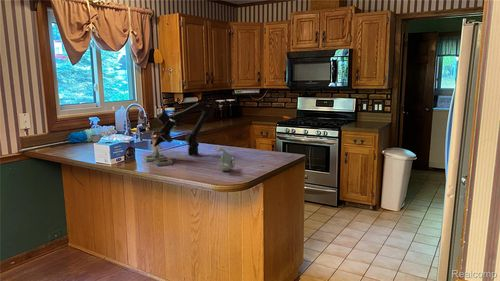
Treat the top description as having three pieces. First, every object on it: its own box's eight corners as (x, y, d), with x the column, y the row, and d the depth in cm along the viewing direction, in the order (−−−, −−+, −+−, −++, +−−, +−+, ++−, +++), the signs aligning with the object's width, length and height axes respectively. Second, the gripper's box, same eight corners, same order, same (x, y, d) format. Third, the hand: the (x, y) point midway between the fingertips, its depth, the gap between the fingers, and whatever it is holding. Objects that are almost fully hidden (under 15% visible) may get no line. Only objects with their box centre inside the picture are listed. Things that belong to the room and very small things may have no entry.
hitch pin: (161, 157, 256) (161, 134, 253) (159, 159, 251) (158, 136, 248) (153, 157, 257) (152, 134, 254) (150, 159, 251) (149, 136, 248)
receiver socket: (169, 161, 245) (169, 158, 245) (172, 164, 237) (172, 161, 237) (155, 163, 242) (154, 160, 241) (157, 166, 233) (157, 163, 233)
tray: (163, 156, 261) (163, 154, 261) (166, 159, 252) (166, 157, 252) (144, 158, 255) (144, 156, 255) (147, 161, 246) (147, 159, 246)
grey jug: (217, 167, 228) (216, 143, 226) (234, 167, 229) (233, 143, 227) (217, 174, 212) (216, 149, 209) (235, 173, 213) (234, 148, 210)
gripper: (180, 137, 251) (165, 154, 247) (171, 133, 267) (157, 150, 263) (168, 126, 246) (153, 144, 242) (160, 123, 261) (145, 140, 258)
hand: (152, 145), depth 251 cm, fingers open, 9 cm apart
